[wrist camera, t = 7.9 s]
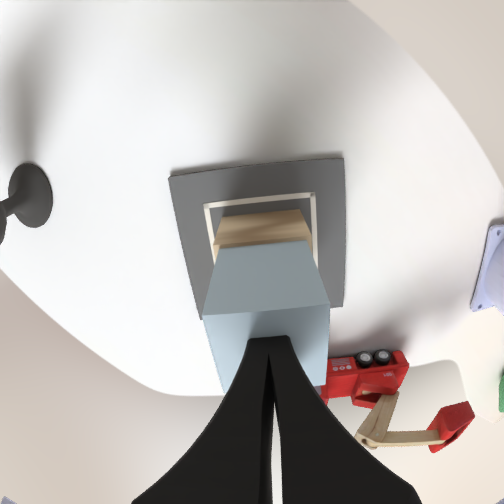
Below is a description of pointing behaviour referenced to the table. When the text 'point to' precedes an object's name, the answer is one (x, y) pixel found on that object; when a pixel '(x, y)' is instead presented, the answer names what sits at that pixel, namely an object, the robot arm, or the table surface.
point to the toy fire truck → (388, 401)
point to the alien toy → (501, 395)
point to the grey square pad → (259, 201)
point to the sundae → (27, 198)
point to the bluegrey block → (267, 306)
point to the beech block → (261, 229)
